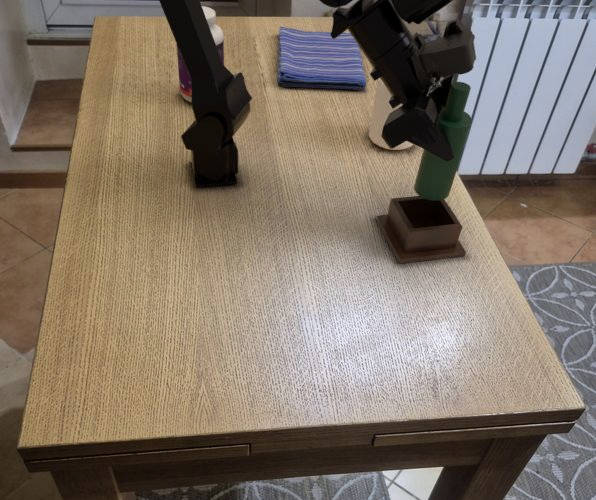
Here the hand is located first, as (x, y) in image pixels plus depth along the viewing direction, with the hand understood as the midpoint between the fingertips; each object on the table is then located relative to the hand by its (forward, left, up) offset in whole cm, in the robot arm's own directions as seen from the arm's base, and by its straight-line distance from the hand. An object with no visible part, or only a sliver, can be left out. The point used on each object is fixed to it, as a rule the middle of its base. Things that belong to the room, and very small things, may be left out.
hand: (454, 149), depth 81 cm
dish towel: (-2, +55, -14) cm, 56 cm away
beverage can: (+3, +25, -14) cm, 28 cm away
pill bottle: (-27, +44, -14) cm, 53 cm away
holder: (-2, -1, -13) cm, 14 cm away
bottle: (-1, +1, -7) cm, 7 cm away
